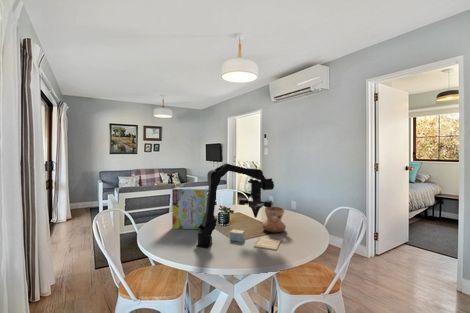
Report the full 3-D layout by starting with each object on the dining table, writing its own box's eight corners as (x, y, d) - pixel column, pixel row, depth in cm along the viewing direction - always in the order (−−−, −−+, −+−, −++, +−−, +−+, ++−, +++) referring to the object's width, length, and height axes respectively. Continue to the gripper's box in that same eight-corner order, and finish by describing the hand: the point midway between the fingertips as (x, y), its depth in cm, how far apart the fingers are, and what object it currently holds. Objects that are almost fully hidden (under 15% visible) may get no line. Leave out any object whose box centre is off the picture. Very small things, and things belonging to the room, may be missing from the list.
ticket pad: (253, 246, 128) (253, 245, 128) (259, 238, 140) (259, 237, 140) (276, 250, 124) (276, 248, 124) (280, 241, 136) (280, 240, 136)
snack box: (207, 226, 161) (208, 187, 161) (204, 230, 153) (205, 189, 152) (176, 224, 164) (176, 186, 163) (171, 228, 155) (171, 188, 154)
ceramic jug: (286, 236, 145) (287, 212, 145) (262, 234, 147) (262, 210, 147) (284, 227, 163) (285, 205, 162) (262, 225, 165) (263, 204, 165)
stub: (230, 240, 137) (230, 232, 137) (232, 237, 141) (233, 229, 141) (241, 242, 134) (242, 233, 134) (244, 239, 139) (244, 230, 139)
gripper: (236, 191, 135) (235, 219, 136) (269, 194, 129) (268, 223, 129) (242, 188, 146) (241, 214, 146) (273, 190, 139) (272, 217, 140)
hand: (255, 217), depth 140 cm, fingers closed
